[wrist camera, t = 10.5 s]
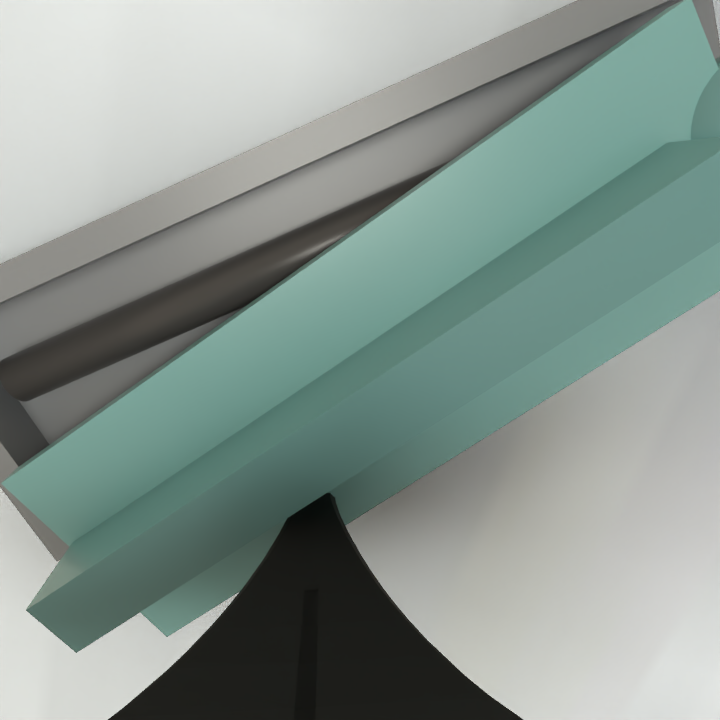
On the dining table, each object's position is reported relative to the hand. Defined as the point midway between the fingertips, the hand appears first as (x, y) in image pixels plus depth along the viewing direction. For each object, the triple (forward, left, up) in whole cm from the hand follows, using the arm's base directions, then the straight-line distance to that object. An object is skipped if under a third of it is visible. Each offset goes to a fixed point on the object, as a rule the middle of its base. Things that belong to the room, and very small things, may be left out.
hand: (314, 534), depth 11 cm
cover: (-3, -3, -1) cm, 5 cm away
